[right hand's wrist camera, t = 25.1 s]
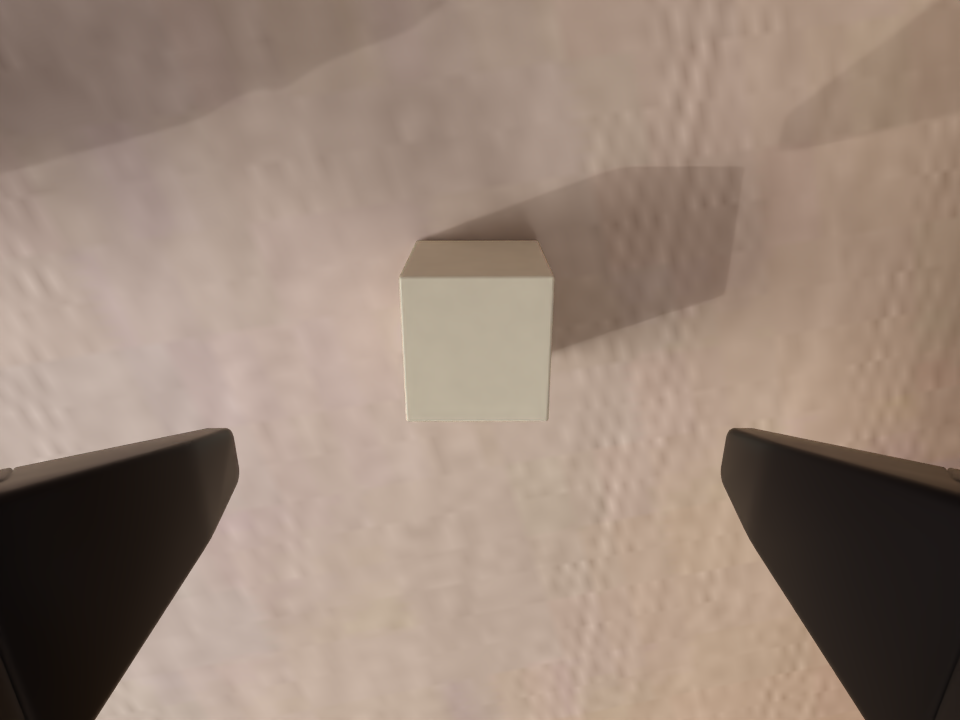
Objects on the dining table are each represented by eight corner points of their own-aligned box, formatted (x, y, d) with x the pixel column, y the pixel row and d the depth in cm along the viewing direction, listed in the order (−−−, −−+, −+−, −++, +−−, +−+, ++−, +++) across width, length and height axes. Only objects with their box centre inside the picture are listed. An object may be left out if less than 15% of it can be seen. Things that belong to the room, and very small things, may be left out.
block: (420, 359, 22) (405, 423, 17) (416, 240, 20) (398, 276, 16) (534, 359, 22) (548, 422, 17) (538, 240, 20) (555, 276, 16)
